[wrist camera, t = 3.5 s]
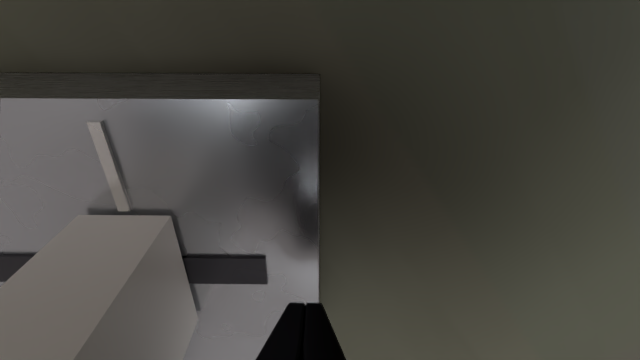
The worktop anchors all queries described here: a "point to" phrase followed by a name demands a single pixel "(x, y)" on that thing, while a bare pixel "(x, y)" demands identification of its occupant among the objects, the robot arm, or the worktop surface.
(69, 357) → the fader tab
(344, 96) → the worktop surface
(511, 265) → the worktop surface
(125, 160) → the console
